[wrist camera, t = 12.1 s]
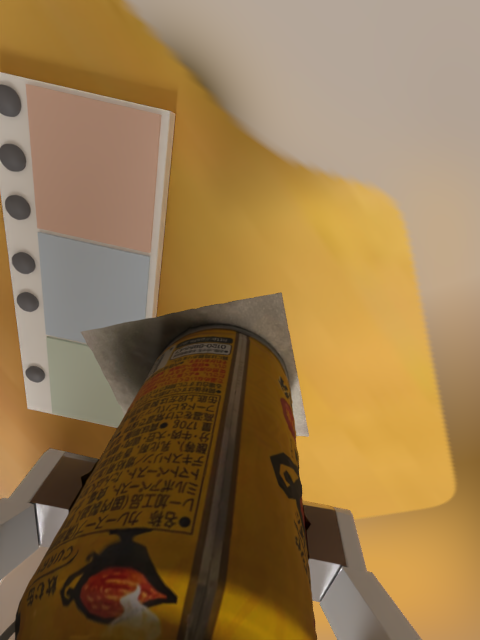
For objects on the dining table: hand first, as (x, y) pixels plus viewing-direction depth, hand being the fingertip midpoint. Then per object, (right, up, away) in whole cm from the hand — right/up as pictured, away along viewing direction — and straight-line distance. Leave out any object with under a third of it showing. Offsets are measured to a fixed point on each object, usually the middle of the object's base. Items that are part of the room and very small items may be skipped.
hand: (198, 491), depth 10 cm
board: (-11, +8, +16) cm, 21 cm away
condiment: (0, +2, +5) cm, 6 cm away
